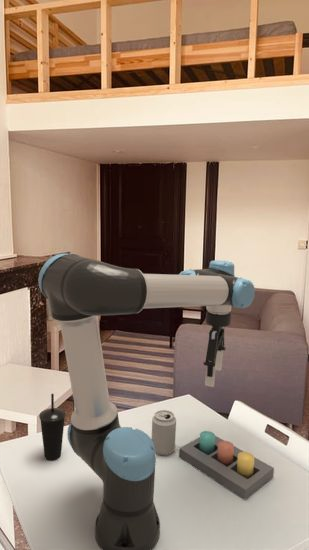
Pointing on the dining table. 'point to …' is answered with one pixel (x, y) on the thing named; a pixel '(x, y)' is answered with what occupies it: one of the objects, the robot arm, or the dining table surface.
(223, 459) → the coral button
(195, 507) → the dining table surface
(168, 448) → the can
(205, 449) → the teal cylinder
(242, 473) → the yellow plastic cylinder
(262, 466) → the tray
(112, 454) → the robot arm
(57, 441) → the drinking cup
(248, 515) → the dining table surface
